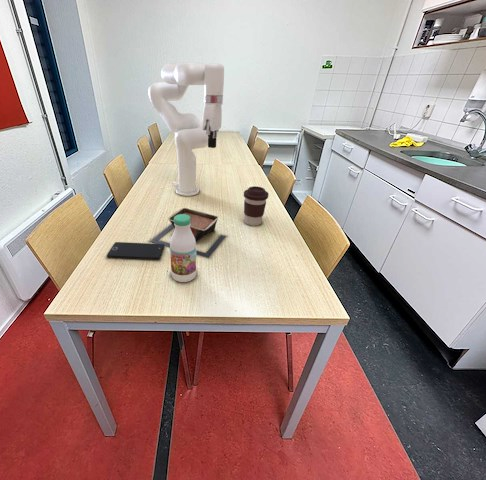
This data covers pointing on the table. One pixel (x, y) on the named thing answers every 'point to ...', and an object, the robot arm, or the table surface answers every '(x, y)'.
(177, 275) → the milk bottle
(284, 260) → the table surface
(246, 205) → the coffee cup
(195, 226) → the baking dish
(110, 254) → the cell phone
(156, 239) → the tape outline
